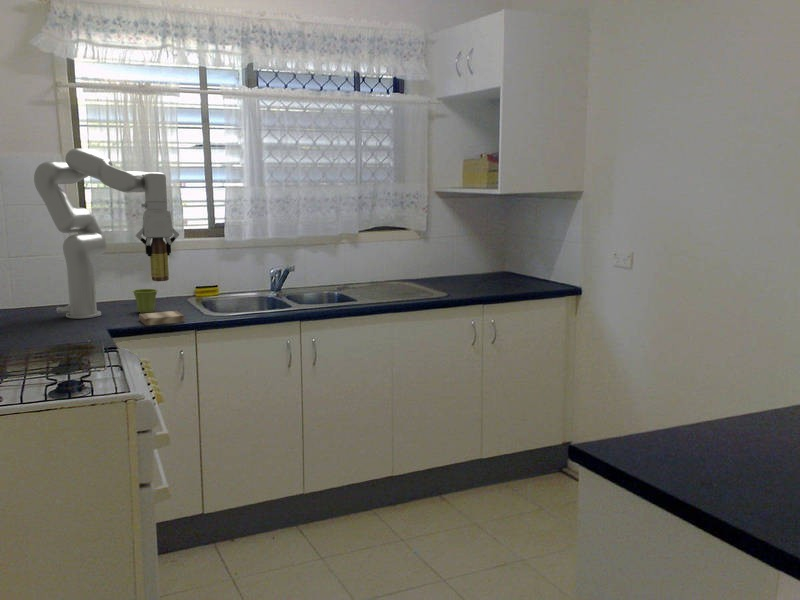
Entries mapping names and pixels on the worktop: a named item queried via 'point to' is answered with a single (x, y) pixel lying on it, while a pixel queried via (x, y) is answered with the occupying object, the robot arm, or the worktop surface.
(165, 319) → the board
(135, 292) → the plant pot
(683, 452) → the worktop surface
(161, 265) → the sauce bottle
